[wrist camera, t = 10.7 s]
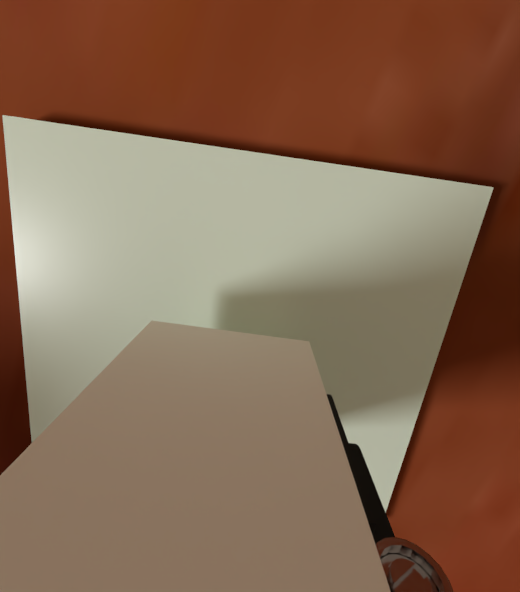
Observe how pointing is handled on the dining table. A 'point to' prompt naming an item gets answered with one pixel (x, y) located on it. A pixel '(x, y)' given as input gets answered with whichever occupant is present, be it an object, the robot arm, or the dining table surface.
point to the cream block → (190, 477)
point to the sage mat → (236, 265)
